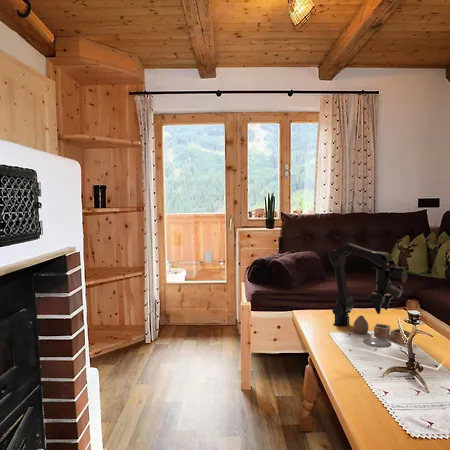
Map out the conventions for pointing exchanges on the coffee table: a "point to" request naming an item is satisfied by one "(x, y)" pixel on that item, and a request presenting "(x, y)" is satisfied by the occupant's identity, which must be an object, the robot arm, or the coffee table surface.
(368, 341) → the coaster
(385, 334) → the box
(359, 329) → the vase
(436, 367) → the coffee table surface
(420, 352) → the coffee table surface
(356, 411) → the coffee table surface
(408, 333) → the box
